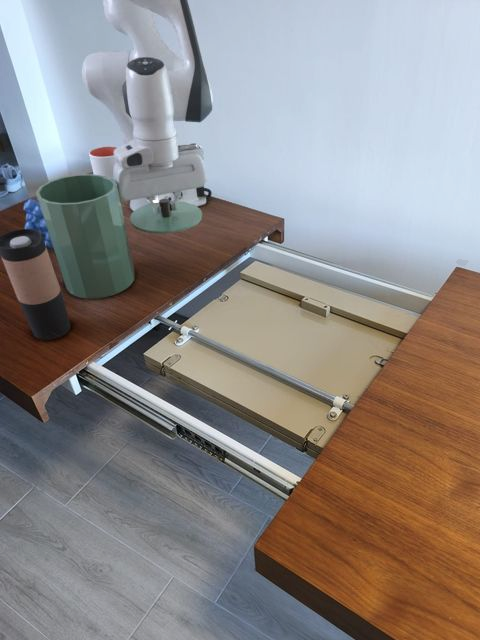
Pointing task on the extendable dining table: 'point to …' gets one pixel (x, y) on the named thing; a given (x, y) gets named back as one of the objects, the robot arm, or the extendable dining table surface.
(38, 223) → the grapes
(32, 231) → the travel mug
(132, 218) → the lid
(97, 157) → the cup
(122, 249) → the pot
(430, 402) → the extendable dining table surface
